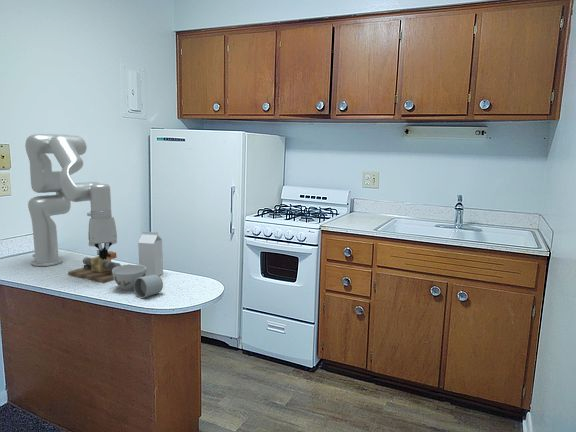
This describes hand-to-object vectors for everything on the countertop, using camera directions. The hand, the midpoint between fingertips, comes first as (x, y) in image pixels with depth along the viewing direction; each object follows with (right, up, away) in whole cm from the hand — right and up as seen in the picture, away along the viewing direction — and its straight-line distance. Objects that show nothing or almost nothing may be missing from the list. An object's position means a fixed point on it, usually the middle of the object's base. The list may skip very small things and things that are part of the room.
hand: (103, 258), depth 174 cm
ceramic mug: (+23, -12, -16) cm, 30 cm away
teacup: (+15, -11, -8) cm, 20 cm away
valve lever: (-1, +1, +5) cm, 5 cm away
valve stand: (-5, -7, +9) cm, 13 cm away
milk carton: (+17, -8, +8) cm, 21 cm away
